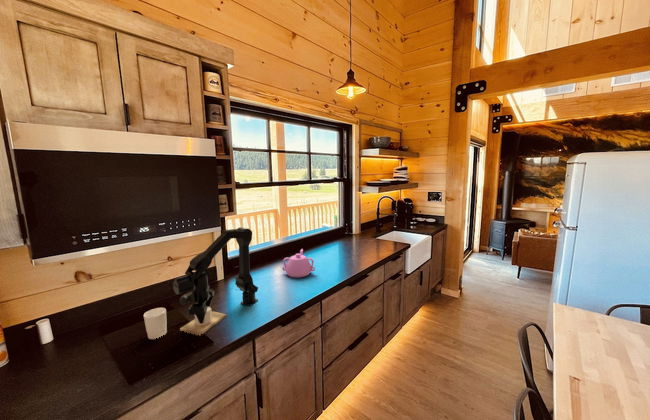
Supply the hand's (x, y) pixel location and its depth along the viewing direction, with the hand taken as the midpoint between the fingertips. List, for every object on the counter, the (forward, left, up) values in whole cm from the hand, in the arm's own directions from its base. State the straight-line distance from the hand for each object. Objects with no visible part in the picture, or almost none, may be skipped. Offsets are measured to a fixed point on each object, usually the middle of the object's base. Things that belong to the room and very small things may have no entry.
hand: (203, 318), depth 119 cm
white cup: (+13, -13, -2) cm, 18 cm away
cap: (0, 0, -1) cm, 1 cm away
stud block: (0, 0, -2) cm, 2 cm away
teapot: (-68, +14, -2) cm, 70 cm away
